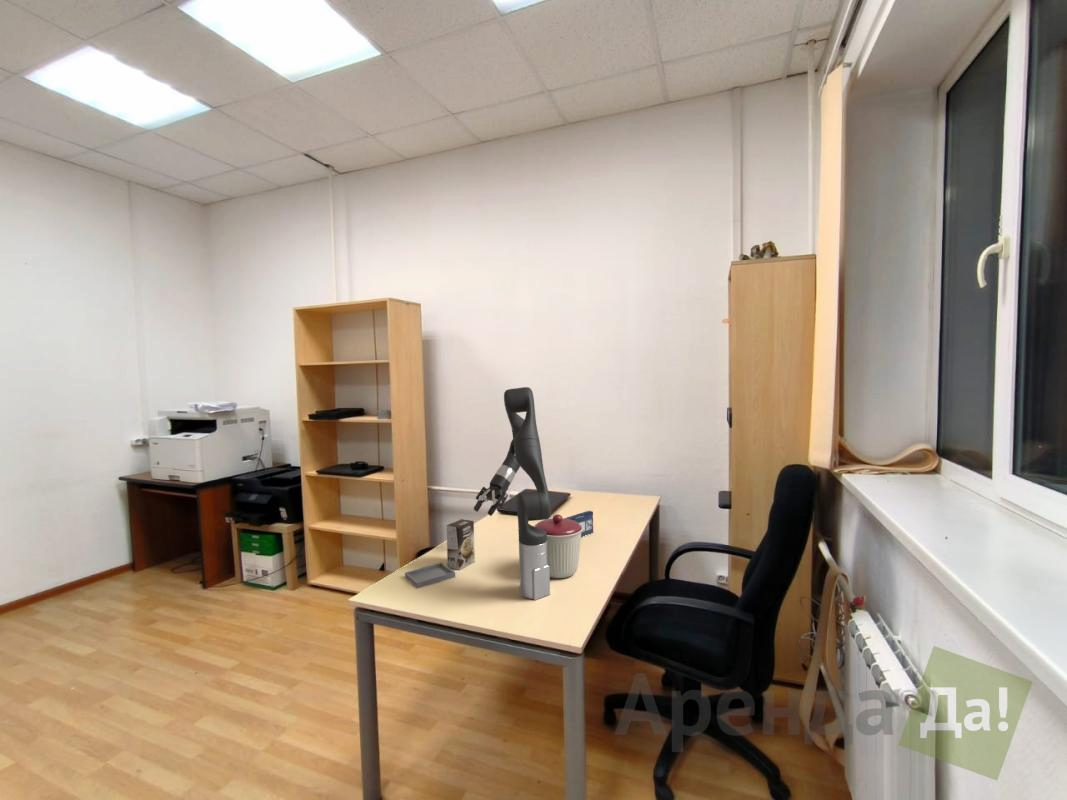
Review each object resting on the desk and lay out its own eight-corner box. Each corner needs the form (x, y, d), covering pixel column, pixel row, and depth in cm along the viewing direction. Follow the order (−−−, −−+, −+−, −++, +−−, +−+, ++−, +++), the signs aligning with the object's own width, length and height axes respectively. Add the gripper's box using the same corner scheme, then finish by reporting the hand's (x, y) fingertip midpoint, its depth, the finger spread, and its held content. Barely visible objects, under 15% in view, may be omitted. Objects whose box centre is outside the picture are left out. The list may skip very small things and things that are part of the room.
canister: (526, 567, 172) (525, 511, 171) (570, 559, 179) (569, 505, 178) (544, 587, 156) (543, 525, 154) (593, 578, 162) (591, 518, 161)
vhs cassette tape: (564, 543, 196) (563, 520, 195) (559, 542, 198) (559, 519, 198) (594, 533, 207) (593, 511, 207) (589, 532, 210) (589, 510, 209)
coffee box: (460, 570, 171) (458, 527, 170) (447, 567, 174) (445, 524, 174) (475, 561, 179) (474, 520, 178) (462, 558, 182) (461, 518, 181)
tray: (455, 577, 166) (455, 572, 166) (417, 588, 157) (416, 583, 157) (441, 567, 175) (441, 562, 175) (405, 577, 166) (404, 572, 166)
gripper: (486, 471, 194) (465, 504, 186) (509, 475, 184) (488, 510, 176) (496, 481, 198) (476, 514, 190) (519, 486, 188) (499, 521, 181)
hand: (482, 512), depth 183 cm, fingers open, 8 cm apart
